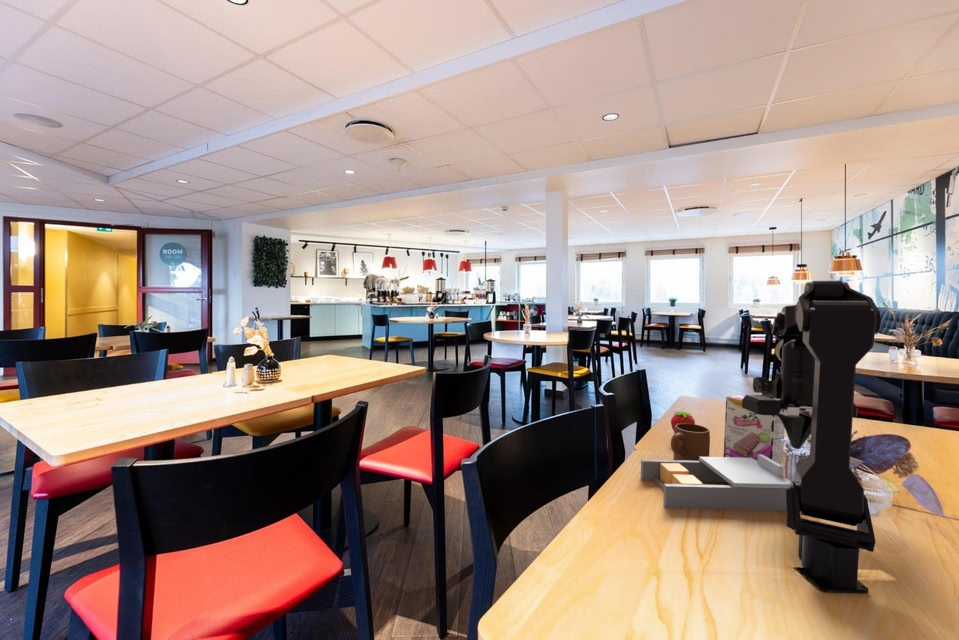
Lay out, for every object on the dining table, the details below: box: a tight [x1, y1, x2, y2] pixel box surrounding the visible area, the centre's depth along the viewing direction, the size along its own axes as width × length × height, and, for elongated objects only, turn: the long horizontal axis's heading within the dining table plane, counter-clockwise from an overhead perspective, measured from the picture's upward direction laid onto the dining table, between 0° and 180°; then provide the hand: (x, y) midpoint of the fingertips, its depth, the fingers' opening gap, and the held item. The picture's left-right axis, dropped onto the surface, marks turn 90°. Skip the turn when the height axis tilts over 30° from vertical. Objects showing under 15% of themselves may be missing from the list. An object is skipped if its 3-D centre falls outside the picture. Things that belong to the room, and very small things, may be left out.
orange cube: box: [660, 463, 689, 484], centre depth 85 cm, size 4×4×4 cm
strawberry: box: [670, 407, 696, 432], centre depth 115 cm, size 6×8×10 cm
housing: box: [640, 459, 788, 512], centre depth 82 cm, size 13×24×5 cm, turn 88°
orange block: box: [672, 474, 704, 485], centre depth 79 cm, size 4×4×4 cm
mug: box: [670, 423, 711, 461], centre depth 96 cm, size 12×8×9 cm, turn 124°
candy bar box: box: [723, 394, 785, 465], centre depth 97 cm, size 11×5×16 cm, turn 27°
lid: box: [699, 455, 792, 488], centre depth 82 cm, size 13×11×3 cm
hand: (795, 448), depth 81 cm, fingers closed
